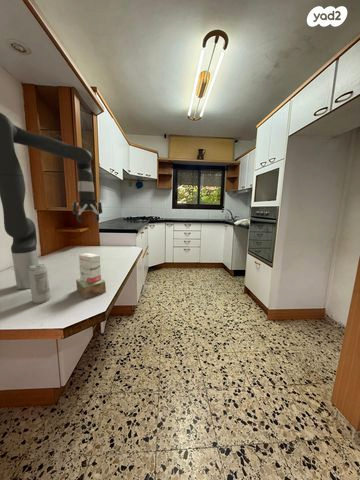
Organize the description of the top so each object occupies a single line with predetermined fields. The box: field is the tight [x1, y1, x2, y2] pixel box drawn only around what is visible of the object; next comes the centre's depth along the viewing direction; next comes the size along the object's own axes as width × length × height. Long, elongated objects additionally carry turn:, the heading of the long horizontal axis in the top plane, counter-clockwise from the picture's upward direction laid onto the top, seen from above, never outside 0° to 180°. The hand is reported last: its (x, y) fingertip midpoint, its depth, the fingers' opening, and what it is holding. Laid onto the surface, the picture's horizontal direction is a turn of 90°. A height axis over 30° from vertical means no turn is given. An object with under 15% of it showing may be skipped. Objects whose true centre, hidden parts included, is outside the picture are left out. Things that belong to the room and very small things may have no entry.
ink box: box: [78, 252, 102, 283], centre depth 85 cm, size 9×5×12 cm, turn 61°
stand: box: [75, 277, 107, 299], centre depth 86 cm, size 9×11×5 cm
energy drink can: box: [28, 263, 51, 304], centre depth 76 cm, size 6×6×15 cm
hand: (88, 221), depth 101 cm, fingers open, 8 cm apart
